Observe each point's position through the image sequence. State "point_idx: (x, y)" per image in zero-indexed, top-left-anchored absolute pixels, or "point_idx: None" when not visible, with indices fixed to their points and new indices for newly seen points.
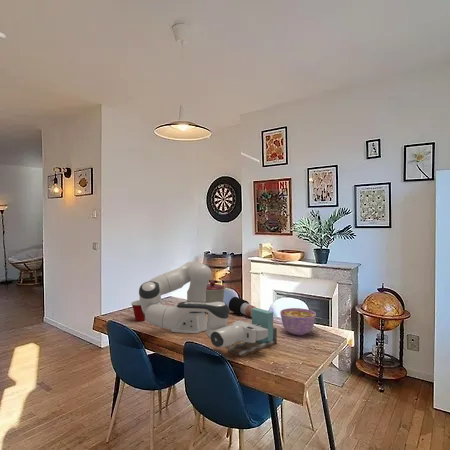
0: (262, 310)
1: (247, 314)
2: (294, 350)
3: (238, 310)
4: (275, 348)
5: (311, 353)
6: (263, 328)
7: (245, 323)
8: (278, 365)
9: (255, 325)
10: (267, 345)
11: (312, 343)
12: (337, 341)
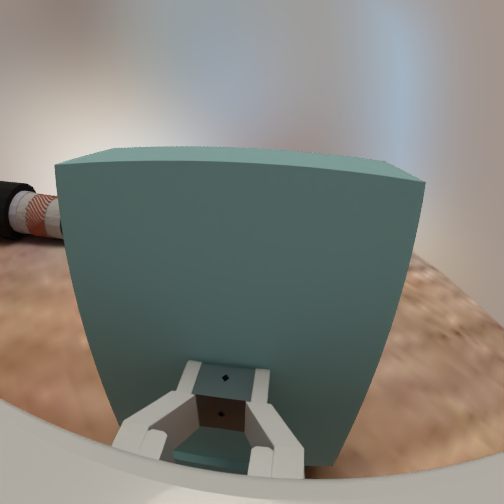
0: (227, 151)
1: (35, 231)
2: (440, 398)
3: (3, 224)
4: (360, 456)
5: (492, 368)
6: (500, 485)
7: (25, 479)
8: None
9: (277, 499)
10: (305, 472)
11: (402, 304)
12: (419, 263)
